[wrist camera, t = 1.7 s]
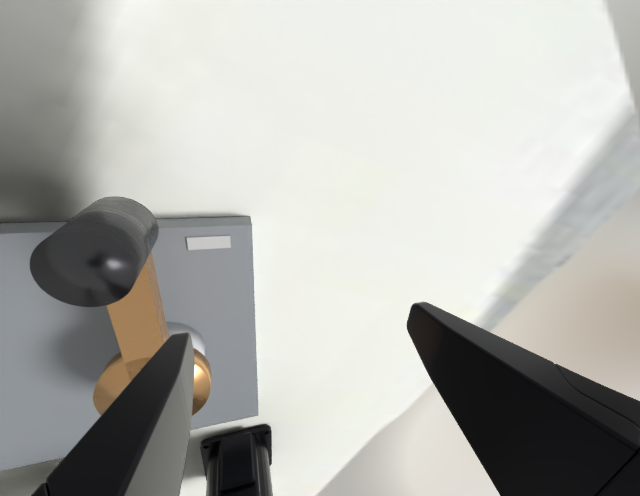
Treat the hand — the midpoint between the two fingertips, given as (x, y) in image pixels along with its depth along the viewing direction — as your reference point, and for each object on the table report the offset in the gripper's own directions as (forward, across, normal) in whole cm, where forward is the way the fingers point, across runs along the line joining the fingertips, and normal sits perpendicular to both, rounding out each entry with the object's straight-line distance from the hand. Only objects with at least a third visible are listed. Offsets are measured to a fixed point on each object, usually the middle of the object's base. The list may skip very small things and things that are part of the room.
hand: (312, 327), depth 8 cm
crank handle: (+8, +7, +6) cm, 12 cm away
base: (+12, +10, +10) cm, 19 cm away
